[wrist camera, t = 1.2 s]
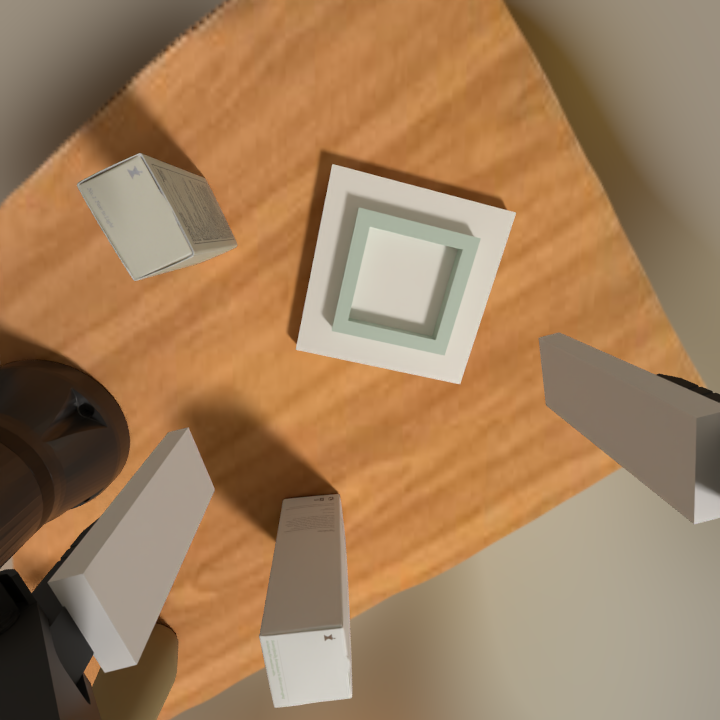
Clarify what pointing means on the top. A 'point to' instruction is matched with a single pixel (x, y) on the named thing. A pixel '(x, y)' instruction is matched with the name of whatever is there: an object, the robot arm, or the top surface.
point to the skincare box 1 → (156, 215)
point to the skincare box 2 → (308, 605)
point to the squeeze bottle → (140, 681)
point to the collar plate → (400, 275)
